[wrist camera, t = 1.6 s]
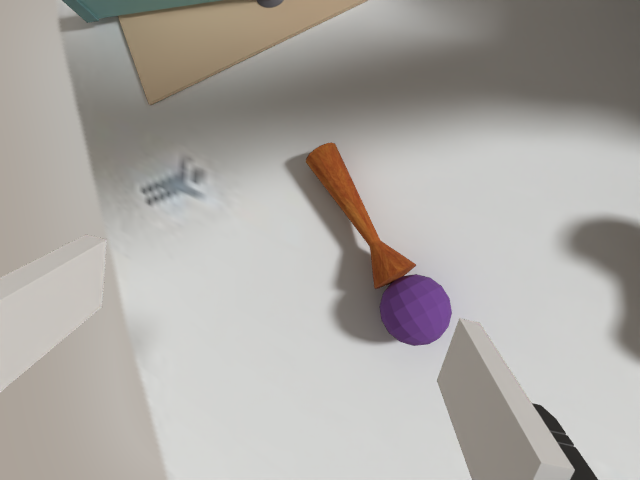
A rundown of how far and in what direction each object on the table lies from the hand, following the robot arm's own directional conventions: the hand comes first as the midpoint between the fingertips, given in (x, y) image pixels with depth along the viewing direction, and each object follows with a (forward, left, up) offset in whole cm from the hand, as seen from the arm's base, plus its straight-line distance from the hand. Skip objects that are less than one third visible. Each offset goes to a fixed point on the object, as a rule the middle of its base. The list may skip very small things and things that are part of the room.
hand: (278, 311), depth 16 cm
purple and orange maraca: (-6, -1, -26) cm, 27 cm away
